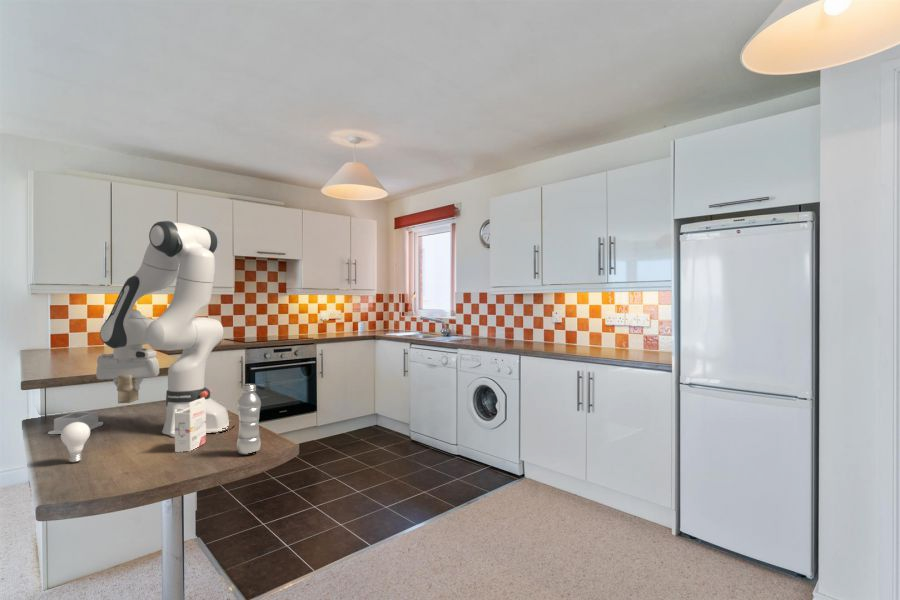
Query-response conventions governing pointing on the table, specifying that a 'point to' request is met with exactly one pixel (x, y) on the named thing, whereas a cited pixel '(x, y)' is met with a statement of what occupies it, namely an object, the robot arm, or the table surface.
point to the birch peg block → (127, 389)
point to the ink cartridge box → (190, 426)
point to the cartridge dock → (84, 417)
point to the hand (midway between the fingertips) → (128, 390)
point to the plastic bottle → (248, 420)
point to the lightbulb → (75, 439)
